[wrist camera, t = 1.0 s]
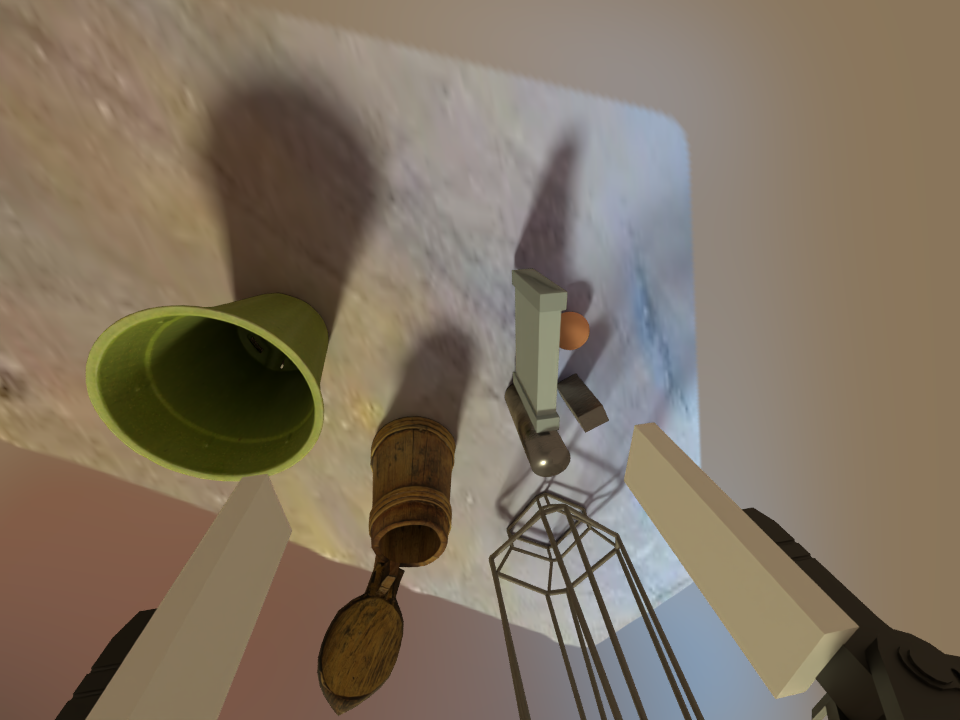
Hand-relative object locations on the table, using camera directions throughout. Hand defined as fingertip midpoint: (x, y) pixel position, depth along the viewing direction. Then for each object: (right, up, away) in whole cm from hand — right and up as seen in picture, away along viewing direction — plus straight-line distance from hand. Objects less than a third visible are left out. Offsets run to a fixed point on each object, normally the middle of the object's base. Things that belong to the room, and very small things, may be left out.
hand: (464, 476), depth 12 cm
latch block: (+10, +1, +24) cm, 26 cm away
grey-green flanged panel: (+4, +7, +19) cm, 21 cm away
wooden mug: (-8, -7, +25) cm, 28 cm away
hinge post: (+5, 0, +23) cm, 24 cm away
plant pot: (-16, +6, +17) cm, 25 cm away
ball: (+9, +8, +21) cm, 24 cm away
